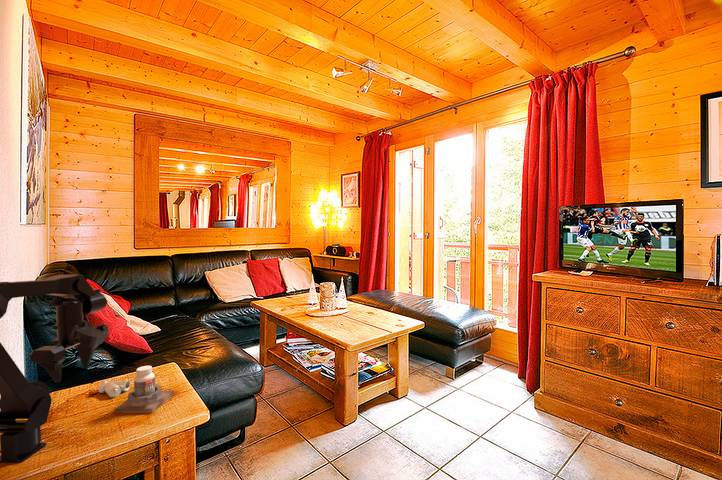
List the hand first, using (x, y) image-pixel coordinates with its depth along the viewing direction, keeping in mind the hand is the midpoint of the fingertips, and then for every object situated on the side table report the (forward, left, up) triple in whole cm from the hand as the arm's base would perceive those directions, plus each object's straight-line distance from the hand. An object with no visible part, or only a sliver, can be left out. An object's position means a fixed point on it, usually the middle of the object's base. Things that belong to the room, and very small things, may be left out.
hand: (72, 374), depth 96 cm
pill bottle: (+8, -15, -12) cm, 20 cm away
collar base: (+8, -15, -12) cm, 21 cm away
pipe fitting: (+15, 0, -13) cm, 20 cm away
